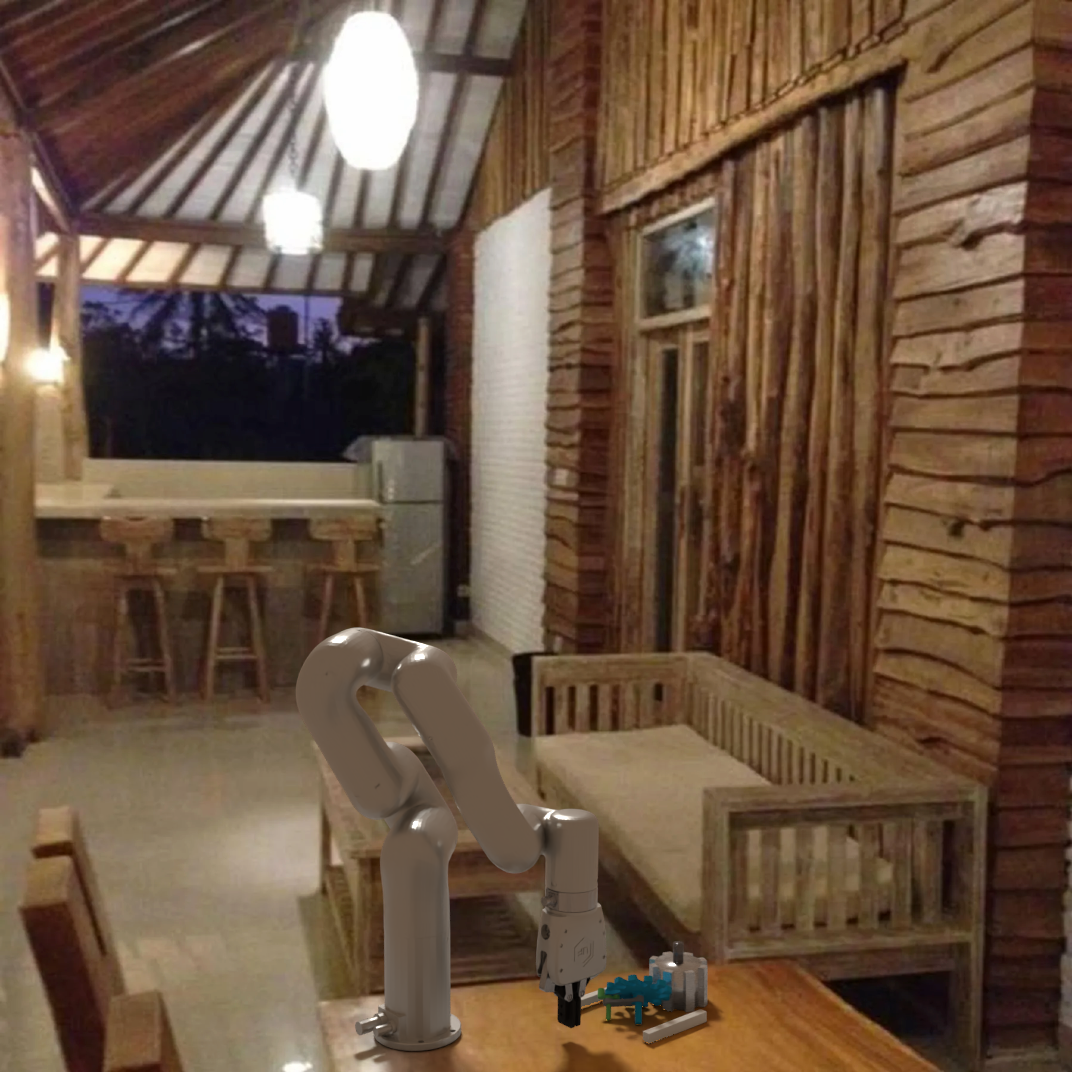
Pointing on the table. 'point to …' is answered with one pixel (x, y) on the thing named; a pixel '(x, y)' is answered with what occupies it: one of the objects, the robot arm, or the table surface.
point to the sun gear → (681, 978)
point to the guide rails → (663, 1029)
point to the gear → (634, 994)
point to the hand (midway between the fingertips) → (568, 1023)
